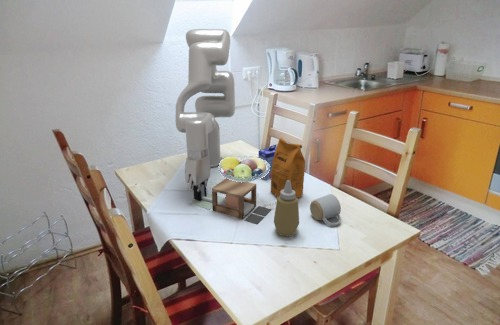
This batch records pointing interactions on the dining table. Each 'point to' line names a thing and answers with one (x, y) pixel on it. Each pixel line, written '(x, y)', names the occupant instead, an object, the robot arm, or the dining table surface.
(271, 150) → the ink cartridge box
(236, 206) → the block
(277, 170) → the coffee package
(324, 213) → the ceramic mug
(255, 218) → the pit pads
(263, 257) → the dining table surface
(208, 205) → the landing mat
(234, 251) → the dining table surface
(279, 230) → the squeeze bottle
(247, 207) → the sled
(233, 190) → the tunnel
